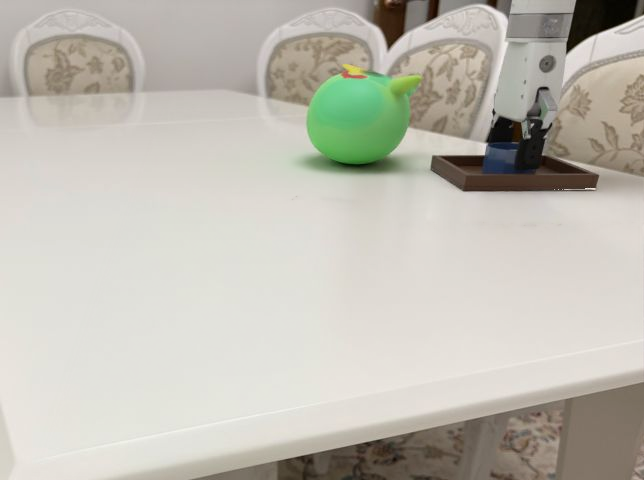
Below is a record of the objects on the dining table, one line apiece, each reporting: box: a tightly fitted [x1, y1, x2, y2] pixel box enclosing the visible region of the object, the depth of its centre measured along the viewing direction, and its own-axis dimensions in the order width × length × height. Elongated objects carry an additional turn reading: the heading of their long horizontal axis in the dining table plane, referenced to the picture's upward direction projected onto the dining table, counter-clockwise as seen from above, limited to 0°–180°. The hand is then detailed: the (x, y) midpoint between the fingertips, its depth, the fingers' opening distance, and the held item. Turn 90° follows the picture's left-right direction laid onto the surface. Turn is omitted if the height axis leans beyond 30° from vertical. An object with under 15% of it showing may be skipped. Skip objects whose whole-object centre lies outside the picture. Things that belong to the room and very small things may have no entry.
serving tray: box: [429, 154, 600, 192], centre depth 98 cm, size 18×15×2 cm
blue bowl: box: [481, 141, 536, 174], centre depth 97 cm, size 7×7×4 cm
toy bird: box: [305, 63, 423, 165], centre depth 107 cm, size 18×17×15 cm
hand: (511, 162), depth 97 cm, fingers open, 9 cm apart
